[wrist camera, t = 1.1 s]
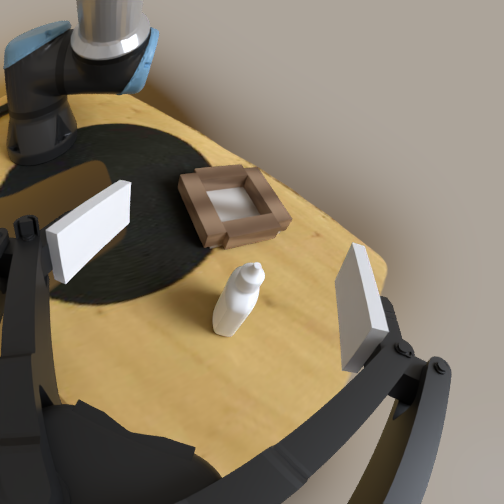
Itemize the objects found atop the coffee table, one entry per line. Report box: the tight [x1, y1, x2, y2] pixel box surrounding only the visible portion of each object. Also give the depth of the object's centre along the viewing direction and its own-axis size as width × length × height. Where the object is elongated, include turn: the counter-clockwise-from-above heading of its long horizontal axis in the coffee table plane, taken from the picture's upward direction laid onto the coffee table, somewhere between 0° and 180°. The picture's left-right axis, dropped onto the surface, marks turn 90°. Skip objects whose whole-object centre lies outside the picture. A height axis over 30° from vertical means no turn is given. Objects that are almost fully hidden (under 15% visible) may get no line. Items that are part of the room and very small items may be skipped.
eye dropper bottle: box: [212, 262, 265, 337], centre depth 31 cm, size 4×6×12 cm
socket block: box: [178, 165, 292, 249], centre depth 45 cm, size 14×14×3 cm
